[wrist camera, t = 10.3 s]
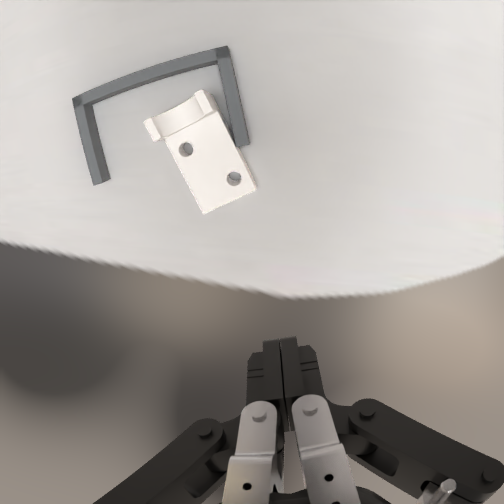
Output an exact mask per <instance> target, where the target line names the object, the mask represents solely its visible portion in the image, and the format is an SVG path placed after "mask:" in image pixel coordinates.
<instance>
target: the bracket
mask: <svg viewBox="0 0 504 504" xmlns="http://www.w3.org/2000/svg"><path fill="white" fill-rule="evenodd" d="M144 124H145V126H146V128H147V130H148V132H149V134H150V136H151V138H152V140H153V142H157V141H160V140H165V142H166V144H167V146H168V148H169V150H170V152H171V154H172V156H173V158H174V160H175V161H176V163H177V165H178V167H179V169H180V171H181V173H182V175H183V177H184V179H185V181H186V183H187V184H188V186H189V188H190V190H191V192H192V194H193V196H194V198H195V200H196V202H197V203H198V205H199V207H200V209H201V211H202V213H203V214H206V213H208V212H210V211H212V210H214V209H216V208H218V207H221V206H223V205H225V204H227V203H229V202H231V201H234V200H236V199H238V198H240V197H242V196H245V195H247V194H249V193H251V192H254V191H256V183H255V181H254V179H253V177H252V175H251V172H250V170H249V168H248V166H247V164H246V162H245V160H244V158H243V156H242V154H241V152H240V150H239V148H238V147H236V142H235V140H234V137H233V135H232V133H231V131H230V129H229V127H228V125H227V123H226V121H225V119H224V117H223V115H222V113H221V111H220V109H219V107H218V105H217V103H216V101H215V99H214V97H213V95H212V94H210V93H208V92H206V91H204V90H200V91H198V92H196V93H194V96H193V97H191V98H190V99H189V100H187V101H185V102H184V103H182V104H180V105H179V106H177V107H175V108H173V109H171V110H169V111H167V112H165V113H162V114H160V115H157V116H155V117H150V118H149V119H147V120H145V121H144ZM186 142H188V143H190V144H191V145H192V146H193V153H192V154H187V153H185V151H184V149H183V146H184V144H185V143H186ZM233 171H235V172H238V173H239V174H240V175H241V179H240V180H238V181H234V180H232V179H231V178H230V177H229V173H230V172H233Z"/></svg>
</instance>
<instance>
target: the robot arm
mask: <svg viewBox="0 0 504 504" xmlns="http://www.w3.org/2000/svg"><path fill="white" fill-rule="evenodd" d="M280 342H281V347H280ZM288 416H289V420H288ZM289 422H290V427H291V431H294V430H295V435H296V442H297V448H298V453H299V458H300V463H301V469H302V474H303V479H304V485H305V489H304V490H301V491H298V492H295V493H292V494H284V489H283V475H284V444H285V438H284V432H287V431H289ZM346 454H348V456H349V457H350V458H351V459H353V460H354V461H357V463H359V464H361V465H362V466H364V467H365V468H367V469H368V470H370V471H371V472H373V473H375V474H376V475H378V476H379V477H381V478H383V479H384V480H386V481H387V482H389V483H391V484H393V485H394V486H396V487H397V488H399V489H401V490H403V491H404V492H406V493H408V494H409V495H411V496H413V497H415V498H416V499H418V500H417V502H416V504H483V503H484V502H485V501H487V500H488V499H489V498H490V497H491V496H492V495H493V494H494V493H495V492H496V491H497V490H498V489H499V488H500V487H501V486H502V485H503V483H504V465H503V464H502V463H501V462H500V461H498V460H496V459H494V458H491V457H489V456H486V455H485V454H482V453H480V452H478V451H476V450H474V449H472V448H470V447H467V446H465V445H463V444H461V443H459V442H457V441H455V440H453V439H451V438H449V437H446V436H445V435H442V434H441V433H439V432H436V431H435V430H433V429H431V428H429V427H427V426H425V425H423V424H421V423H419V422H417V421H415V420H413V419H411V418H409V417H407V416H405V415H404V414H402V413H400V412H398V411H396V410H394V409H392V408H391V407H388V406H387V405H385V404H383V403H381V402H379V401H377V400H375V399H362V400H359V401H358V402H356V403H354V404H353V405H352V406H340V405H336V404H333V403H331V402H330V401H329V400H328V399H327V398H326V397H325V394H324V390H323V386H322V381H321V376H320V371H319V366H318V362H317V357H316V352H315V351H314V350H313V349H312V348H311V347H310V346H309V345H306V346H300V347H298V345H297V339H296V336H292V337H285V338H280V341H279V338H278V339H271V340H264V341H263V352H257V353H253V354H252V355H251V357H250V359H249V360H248V372H247V399H246V407H245V408H244V409H243V411H242V413H241V414H240V415H239V416H238V417H236V418H235V419H232V420H230V421H227V422H224V423H219V422H218V421H216V420H214V419H208V418H206V419H201V420H198V421H196V422H195V423H193V424H192V425H191V426H190V427H189V428H188V429H187V430H185V431H184V432H183V433H182V434H181V435H179V436H178V437H177V438H176V439H175V440H174V441H172V442H171V443H170V444H169V445H168V446H167V447H165V448H164V449H163V450H162V451H161V452H159V453H158V454H157V455H156V456H154V457H153V458H152V459H151V460H149V461H148V462H147V463H146V464H144V465H143V466H142V467H141V468H140V469H138V470H137V471H136V472H135V473H133V474H132V475H131V476H129V477H128V478H127V479H125V480H124V481H123V482H121V483H120V484H119V485H118V486H116V487H115V488H113V489H112V490H111V491H109V492H108V493H107V494H105V495H104V496H103V497H102V498H100V499H99V500H97V501H96V502H94V503H93V504H201V503H202V502H204V501H205V500H206V498H208V497H209V496H210V495H211V494H212V493H213V492H214V491H215V490H216V489H217V488H218V487H219V486H220V485H222V483H224V482H225V481H226V482H225V488H224V495H223V501H222V503H219V504H391V503H389V502H388V501H386V500H385V499H383V498H382V497H381V496H379V495H377V494H376V493H374V492H372V491H370V490H368V489H365V488H362V487H357V486H355V482H354V479H353V476H352V472H351V469H350V466H349V462H348V459H347V456H346Z"/></svg>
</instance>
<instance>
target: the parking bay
mask: <svg viewBox="0 0 504 504" xmlns="http://www.w3.org/2000/svg"><path fill="white" fill-rule="evenodd" d="M214 64H218V66H219V70H220V75H221V79H222V83H223V88H224V92H225V97H226V101H227V106H228V110H229V115H230V119H231V124H232V129H233V133H234V138H235V142H236V147H240V146H245V145H249V144H250V142H249V138H248V133H247V128H246V124H245V119H244V115H243V110H242V105H241V101H240V96H239V92H238V87H237V83H236V78H235V74H234V69H233V65H232V60H231V56H230V52H229V49H228V46H224V47H220V48H215V49H211V50H207V51H203V52H199V53H195V54H192V55H188V56H184V57H181V58H177V59H174V60H171V61H167V62H164V63H161V64H158V65H155V66H152V67H149V68H146V69H143V70H140V71H137V72H134V73H132V74H129V75H126V76H124V77H121V78H118V79H116V80H113V81H111V82H108V83H106V84H104V85H101V86H99V87H96V88H94V89H92V90H90V91H87V92H85V93H83V94H81V95H79V96H76V97H74V98H72V101H73V106H74V110H75V115H76V120H77V124H78V128H79V133H80V137H81V141H82V145H83V149H84V153H85V157H86V160H87V164H88V168H89V171H90V175H91V178H92V182H93V185H97V184H100V183H103V182H105V181H107V180H109V179H110V175H109V172H108V168H107V165H106V161H105V157H104V153H103V149H102V146H101V142H100V138H99V133H98V129H97V125H96V121H95V116H94V112H93V107H92V104H94V103H97V102H99V101H102V100H104V99H107V98H109V97H112V96H114V95H117V94H120V93H122V92H125V91H128V90H130V89H133V88H136V87H139V86H142V85H145V84H148V83H151V82H154V81H157V80H160V79H163V78H166V77H170V76H173V75H176V74H180V73H183V72H187V71H191V70H194V69H198V68H202V67H206V66H210V65H214Z"/></svg>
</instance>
